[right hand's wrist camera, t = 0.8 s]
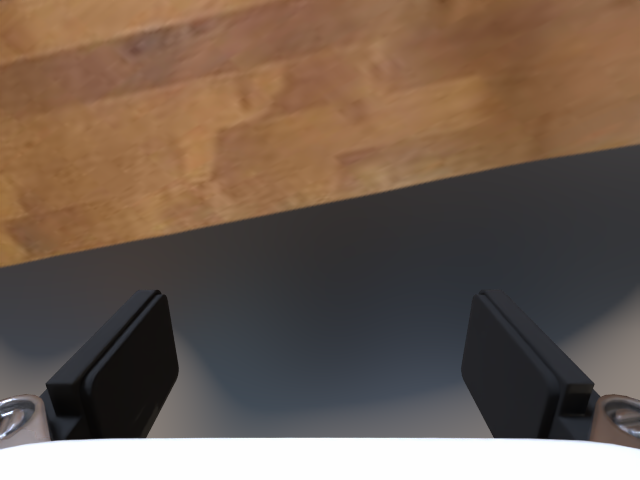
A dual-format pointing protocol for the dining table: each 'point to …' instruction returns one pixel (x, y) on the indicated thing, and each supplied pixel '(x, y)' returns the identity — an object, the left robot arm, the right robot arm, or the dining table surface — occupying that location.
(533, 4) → the dining table surface
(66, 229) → the dining table surface
